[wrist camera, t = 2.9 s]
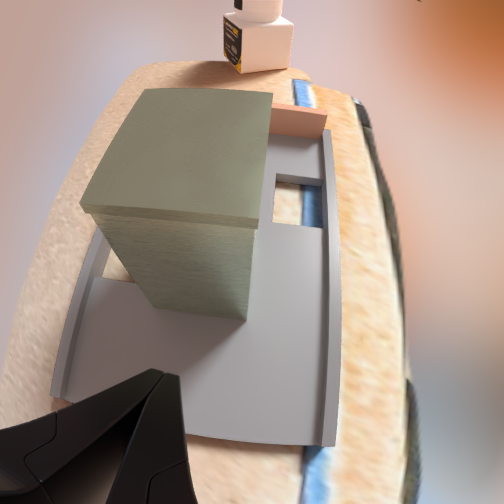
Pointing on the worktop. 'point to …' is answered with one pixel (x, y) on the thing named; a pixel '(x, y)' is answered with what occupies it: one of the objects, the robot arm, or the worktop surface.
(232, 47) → the medicine bottle
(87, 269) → the tray
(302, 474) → the worktop surface
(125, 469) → the robot arm
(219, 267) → the tea tin
